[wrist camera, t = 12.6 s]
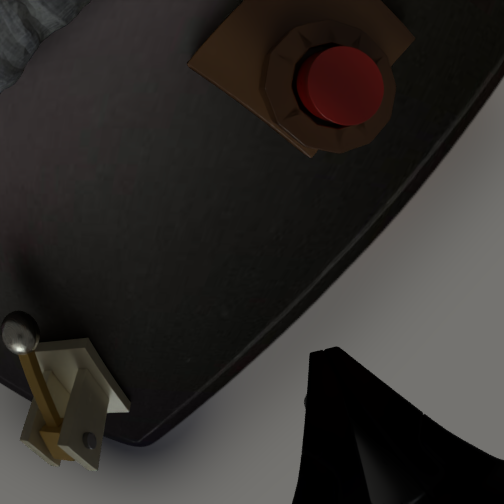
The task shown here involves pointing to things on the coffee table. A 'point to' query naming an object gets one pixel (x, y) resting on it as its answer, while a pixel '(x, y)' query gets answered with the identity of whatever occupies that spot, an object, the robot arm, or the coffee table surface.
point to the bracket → (74, 401)
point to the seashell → (29, 31)
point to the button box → (300, 62)
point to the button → (340, 85)
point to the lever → (34, 375)
